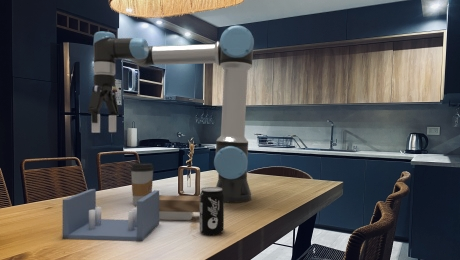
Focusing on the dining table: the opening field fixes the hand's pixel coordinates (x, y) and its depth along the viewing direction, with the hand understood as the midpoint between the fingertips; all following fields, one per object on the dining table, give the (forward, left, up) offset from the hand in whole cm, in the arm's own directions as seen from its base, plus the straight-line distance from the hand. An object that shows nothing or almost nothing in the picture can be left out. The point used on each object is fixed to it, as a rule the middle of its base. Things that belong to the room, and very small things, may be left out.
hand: (104, 132), depth 124 cm
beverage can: (-44, +30, -27) cm, 59 cm away
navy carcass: (-17, +31, -27) cm, 44 cm away
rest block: (-31, +17, -27) cm, 44 cm away
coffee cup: (-14, -1, -27) cm, 30 cm away
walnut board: (-31, +17, -24) cm, 42 cm away
